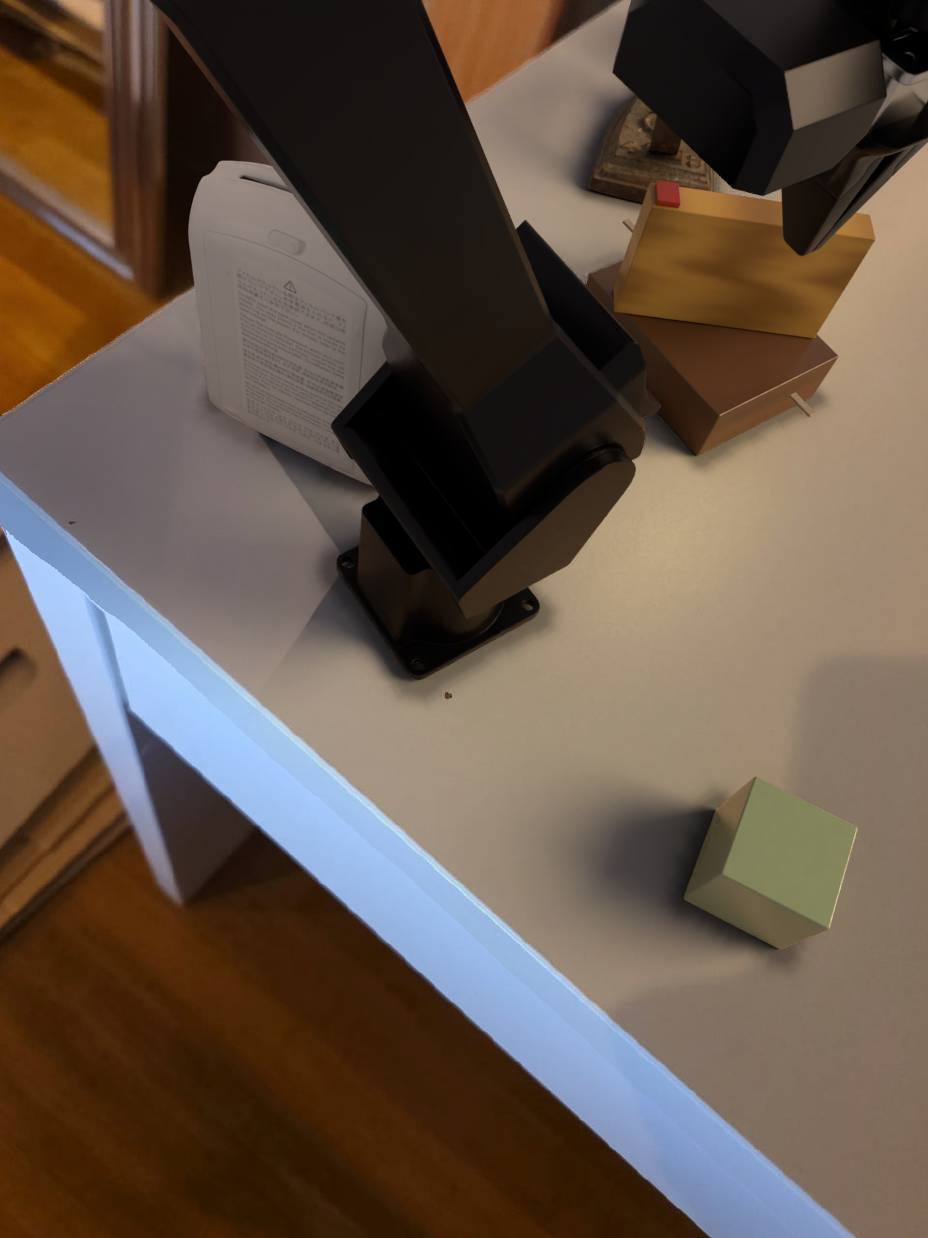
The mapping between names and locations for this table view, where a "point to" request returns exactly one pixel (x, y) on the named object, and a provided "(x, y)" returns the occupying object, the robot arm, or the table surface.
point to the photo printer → (278, 313)
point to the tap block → (718, 370)
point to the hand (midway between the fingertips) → (799, 246)
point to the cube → (772, 865)
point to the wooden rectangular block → (732, 263)
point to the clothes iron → (645, 156)
